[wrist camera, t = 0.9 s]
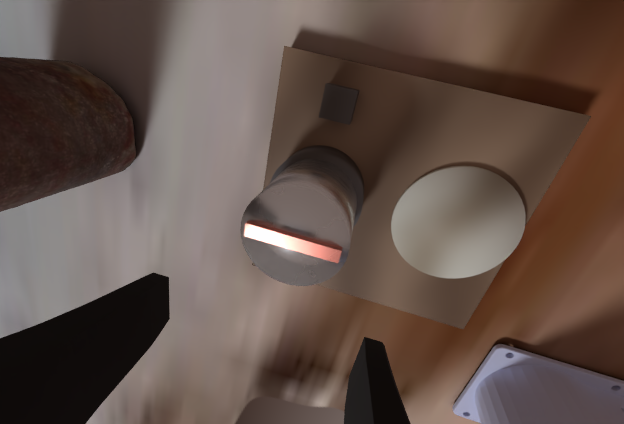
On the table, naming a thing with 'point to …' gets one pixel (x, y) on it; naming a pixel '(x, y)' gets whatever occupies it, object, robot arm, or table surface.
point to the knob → (301, 223)
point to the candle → (58, 129)
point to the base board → (420, 175)
